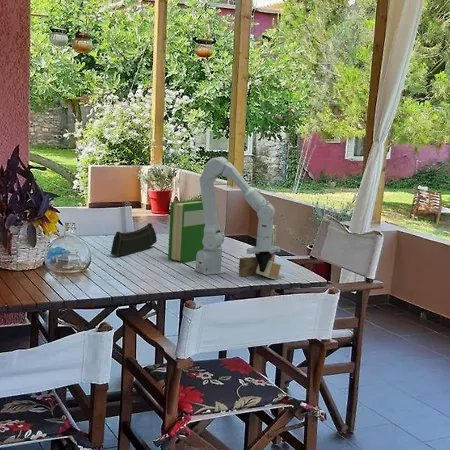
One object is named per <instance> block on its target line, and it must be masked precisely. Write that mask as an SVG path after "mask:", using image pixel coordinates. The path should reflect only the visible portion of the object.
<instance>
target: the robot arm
mask: <svg viewBox="0 0 450 450" xmlns="http://www.w3.org/2000/svg"><path fill="white" fill-rule="evenodd" d="M220 176H222V177H224V178H228V179H230V180H231V181H232V182H233V183H234V184H235V185H236V186H237V187H238V189H240V190H241V191H242V193H243V194H244V197H243V198H244V200H245V201H246V202H247V203H248V204H249V206H250V207H251V208H252V209H253V210H254V211H255V212H256V215H257V217H258V221H257V222H258V224H257V233H256V246H253V247H248V248H246V254H247V255H253V254H254V255H255V256H254V257H256V258H257V260H258V264H259V269H260V271H261V272H264V271H265V268H266V266H267V263H268V261H269V259H270V258H271V257H272V254H270V252H275V253H276V252H277V253H280V252H281V247H280V246H277V245H275V246H272V234H273V225H274V216H275V214H276V209H275V207H274V205H273V204H272V203H270V201H269V200H268V199H266V198H265V197H264V195H262V190H260V189H257V188H256V187H251V186H250V185H249V183H248V182H247V181H246V179H244V177H243V176H242V175H241V174H240V172H239V171H238V169H236V167H235V166H234V164H232V162H229V160H228V159H227V158H226V157H225V156H218V157H217V156H216V157H212V158H210V159H209V160H208V161H207V162H206V163H205V164H204V169H203V170H202V173H201V175H200V178H199V183H200V184H199V185H200V194H201V200H202V203H203V212H204V220H205V228H204V237H203V241H202V242H203V246H204V249H203V250H200V251H198V252H197V255H196V261H195V268H194V271H195V272H198V273H199V274H202V275H206V276H207V275H218V274H226V271H225V270H222V258H223V247H222V244H223V243H224V242H225V236H224V234H223V232H222V229H221V225H220V224H219V219H218V209H217V200H216V193H215V192H216V191H215V184H214V183H215V182H216V181H217V179H218V178H219V177H220Z"/></svg>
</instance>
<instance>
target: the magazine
mask: <svg viewBox="0 0 450 450" xmlns="http://www.w3.org/2000/svg"><path fill="white" fill-rule="evenodd" d="M155 231H156V230H155V229H154V226H153V223H150V222H149V223H147V225H145V226H143V227H141V228H139V229H136V230H134V231H128V232H121V231H116V232H115V235H114V236H113V239H112V240H113V241H112V246H111V248H110V249H111V250H110V255H112V256H126V255H127V256H128V255H133V254H137V253H140V252H143V251H145V250H147V249H151V247H152V246H153V245H155V244H156V243H157V242H158V239H157V233H156V232H155Z"/></svg>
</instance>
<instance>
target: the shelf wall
mask: <svg viewBox="0 0 450 450" xmlns="http://www.w3.org/2000/svg"><path fill="white" fill-rule="evenodd" d="M269 261H270V259H269ZM257 267H258V260H257V258H256V256H250V257H249V256H248V257H239V264H238V268H239V269H238V277H240V278H242V277H250V276H252V277H253V276H261V275H260V274H257V273H256V270H257Z"/></svg>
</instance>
